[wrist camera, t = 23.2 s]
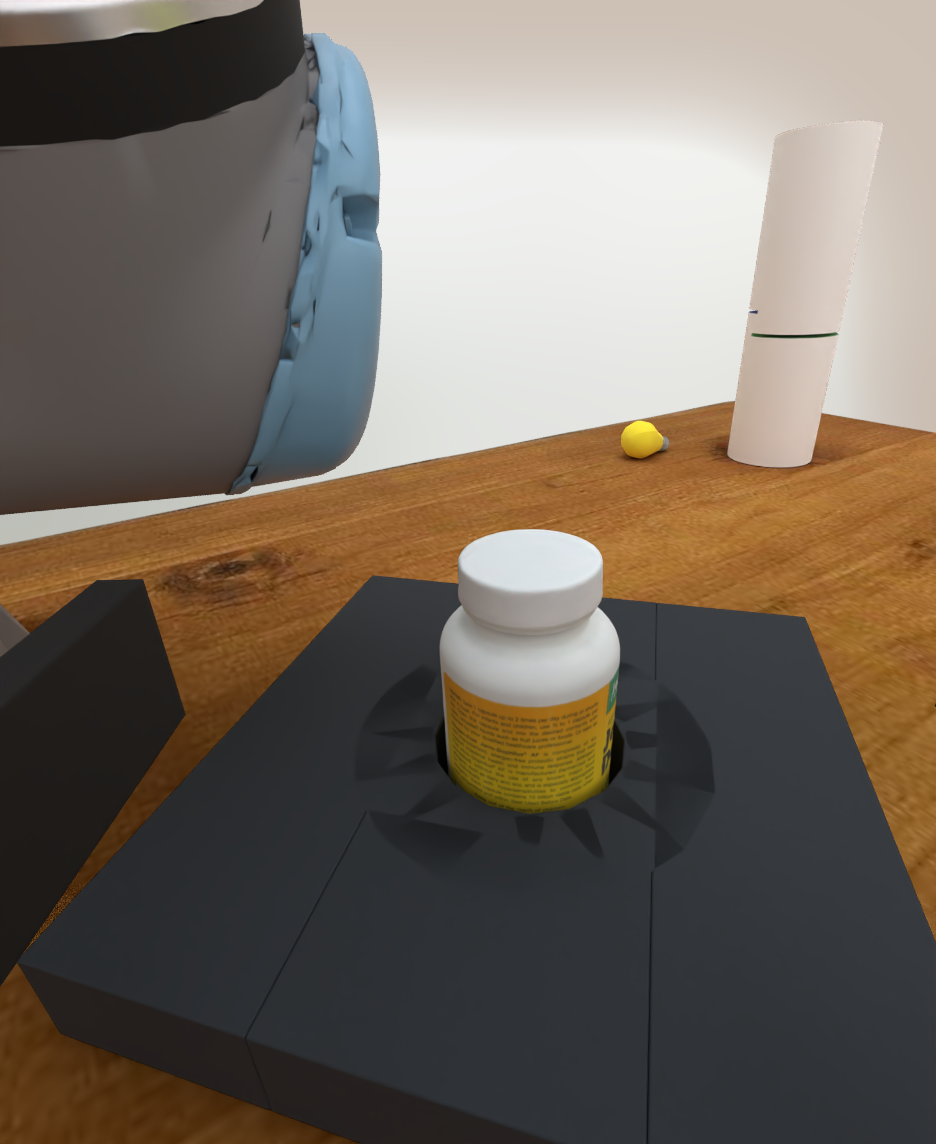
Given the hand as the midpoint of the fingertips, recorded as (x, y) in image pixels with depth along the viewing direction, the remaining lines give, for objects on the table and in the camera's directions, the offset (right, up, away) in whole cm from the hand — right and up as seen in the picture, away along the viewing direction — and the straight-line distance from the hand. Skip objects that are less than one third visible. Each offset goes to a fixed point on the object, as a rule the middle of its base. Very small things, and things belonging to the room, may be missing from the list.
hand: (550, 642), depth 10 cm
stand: (+1, -7, +11) cm, 13 cm away
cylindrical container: (+27, +12, +47) cm, 55 cm away
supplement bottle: (+1, -7, +11) cm, 13 cm away
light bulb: (+16, +12, +49) cm, 53 cm away
